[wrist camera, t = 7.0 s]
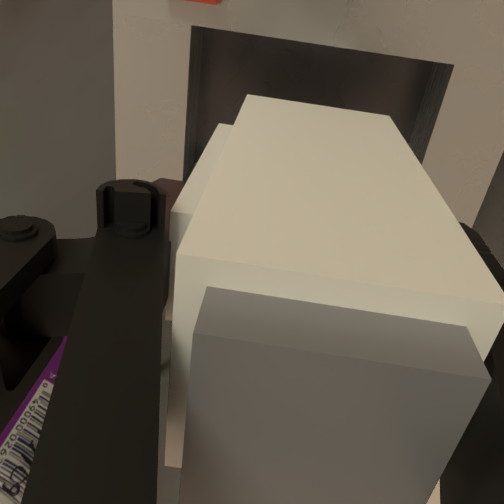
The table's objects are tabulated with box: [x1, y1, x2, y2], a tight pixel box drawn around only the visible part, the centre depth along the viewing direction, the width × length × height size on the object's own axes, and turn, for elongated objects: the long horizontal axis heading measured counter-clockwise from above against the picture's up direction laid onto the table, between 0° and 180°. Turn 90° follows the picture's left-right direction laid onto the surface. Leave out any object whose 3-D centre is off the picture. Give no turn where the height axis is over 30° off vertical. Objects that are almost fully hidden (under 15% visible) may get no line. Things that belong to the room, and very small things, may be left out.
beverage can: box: [0, 336, 67, 504], centre depth 26 cm, size 7×7×12 cm
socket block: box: [113, 0, 504, 228], centre depth 21 cm, size 16×16×4 cm
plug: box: [164, 94, 504, 504], centre depth 11 cm, size 4×4×11 cm
